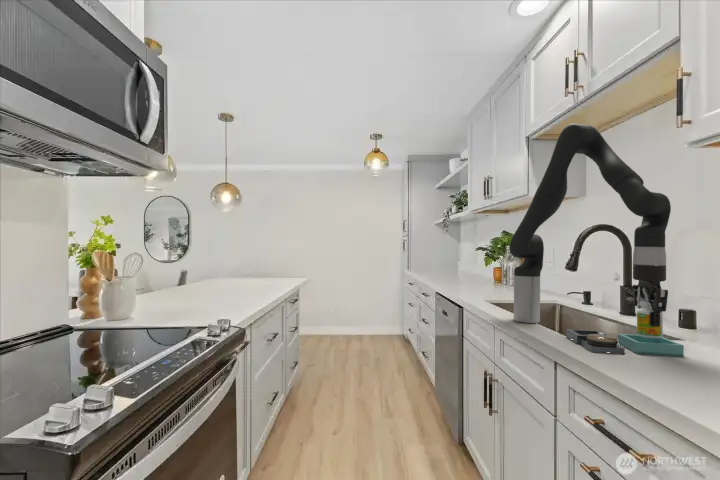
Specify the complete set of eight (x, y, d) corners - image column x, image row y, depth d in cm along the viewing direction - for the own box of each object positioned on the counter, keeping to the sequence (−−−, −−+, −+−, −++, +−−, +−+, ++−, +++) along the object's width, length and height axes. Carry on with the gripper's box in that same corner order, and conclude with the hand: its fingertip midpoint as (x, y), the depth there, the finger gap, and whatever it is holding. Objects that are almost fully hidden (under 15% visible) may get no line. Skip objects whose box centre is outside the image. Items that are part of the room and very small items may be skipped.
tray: (618, 344, 117) (618, 333, 117) (659, 346, 115) (659, 336, 115) (636, 353, 106) (637, 342, 106) (683, 356, 104) (683, 345, 104)
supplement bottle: (633, 335, 111) (634, 301, 111) (640, 333, 114) (640, 299, 114) (657, 339, 107) (657, 303, 107) (663, 337, 110) (663, 302, 110)
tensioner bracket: (566, 336, 125) (566, 322, 125) (598, 338, 123) (599, 324, 123) (589, 352, 107) (589, 335, 107) (627, 354, 105) (627, 337, 105)
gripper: (622, 262, 118) (621, 319, 118) (648, 264, 104) (647, 328, 104) (650, 262, 117) (649, 320, 117) (680, 264, 103) (679, 330, 103)
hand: (648, 323), depth 110 cm, fingers closed on supplement bottle, 5 cm apart
